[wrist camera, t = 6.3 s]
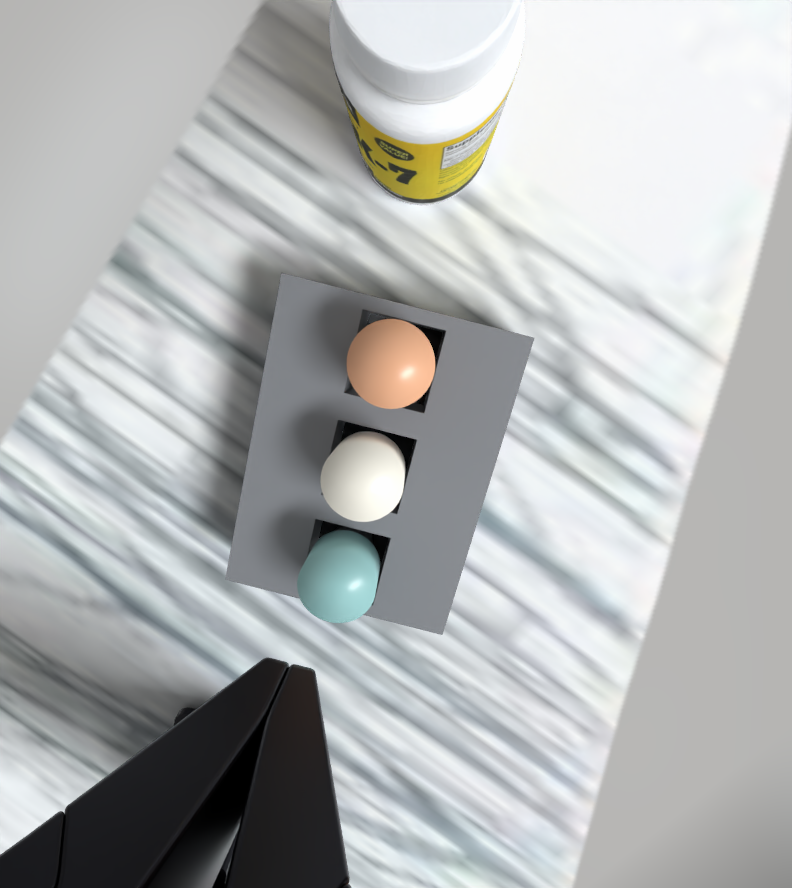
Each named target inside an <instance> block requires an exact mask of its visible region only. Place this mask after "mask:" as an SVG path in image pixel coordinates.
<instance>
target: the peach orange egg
mask: <svg viewBox="0 0 792 888" xmlns="http://www.w3.org/2000/svg"><path fill="white" fill-rule="evenodd" d="M434 372H435V356H434V351H433V348H432V346H431V344H430V342H429V340H428V339H427V337H426V336H425V335H424V333H423V332H422V331H421V330H419V329H418V328H417V327H415V326H414V325H412V324H410V323H408V322H406V321H403V320H398V319H383V320H379V321H376V322H373V323H371V324H369V325H367V326H366V327H365V328H363V329H362V330H361V331H360V332H359V333H358V334H357V335H356V337H355V338H354V340H353V341H352V343H351V345H350V348H349V351H348V355H347V373H348V377H349V380H350V382H351V384H352V386H353V388H354V389H355V391H356V392H357V393H358V394H359V395H360V397H362V398H363V399H364V400H365V401H367V402H368V403H370V404H372V405H374V406H377V407H380V408H385V409H397V408H402V407H405V406H408V405H410V404H412V403H414V402H415V401H417V400H418V399H419V398H421V397H422V396H423V395H424V393H425V392H426V391H427V389H428V388H429V386H430V384H431V382H432V380H433V377H434Z"/></svg>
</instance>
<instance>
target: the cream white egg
mask: <svg viewBox="0 0 792 888" xmlns="http://www.w3.org/2000/svg"><path fill="white" fill-rule="evenodd" d="M405 469H406V467H405V460H404V457H403V454H402V452H401V450H400V449H399V447H398V446H397V445H396V444H395V443H394V442H393V441H392V440H391V439H390V438H388V437H387V436H385V435H382V434H380V433H377V432H371V431H364V432H358V433H354V434H352V435H350V436H348V437H346V438H345V439H344V440H343V441H341V442H340V443H339V445H338V446H337V447H336V448H335V450H334V451H333V452H332V453H331V454H330V456H329V457H328V458H327V460H326V461H325V463H324V466H323V468H322V471H321V480H320V483H321V489H322V493H323V496H324V498H325V500H326V501H327V503H328V504H329V506H330V507H331V508H332V509H333V510H334V511H335V512H336V513H338V514H339V515H341V516H342V517H344V518H347V519H349V520H352V521H357V522H369V521H374V520H378V519H380V518H382V517H384V516H386V515H387V514H389V513H390V512H391V511H392V510H393V509H394V508H395V507H396V505H397V504H398V503H399V501H400V499H401V496H402V493H403V488H404V480H405Z"/></svg>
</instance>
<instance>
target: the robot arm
mask: <svg viewBox="0 0 792 888" xmlns="http://www.w3.org/2000/svg"><path fill="white" fill-rule="evenodd" d="M348 883H349V872H348V866H347V860H346V854H345V848H344V842H343V836H342V830H341V824H340V818H339V812H338V806H337V800H336V794H335V788H334V782H333V776H332V770H331V764H330V758H329V752H328V746H327V740H326V734H325V728H324V722H323V716H322V710H321V704H320V698H319V692H318V686H317V680H316V674H315V671H314V670H313V669H311V668H307V667H303V666H299V665H295V664H293V665H291V666H290V667H289V664H288V663H287V662H284V661H280V660H276V659H272V658H265V659H263V660H261V661H260V662H259V663H257V664H256V665H255V666H253V667H252V668H251V669H249V670H248V671H247V672H245V673H244V674H243V675H241V676H240V677H239V678H237V679H236V680H235V681H233V682H232V683H231V684H229V685H228V686H227V687H225V688H224V689H223V690H221V691H220V692H219V693H217V694H216V695H215V696H213V697H212V698H211V699H209V700H208V701H207V702H205V703H204V704H203V705H201V706H200V707H199V708H197V709H192V708H184V709H182V710H181V711H180V712H179V714H178V715H177V717H176V719H175V722H174V726H173V727H172V728H171V729H169V730H168V731H167V732H165V733H164V734H163V735H161V736H160V737H159V738H157V739H156V740H155V741H153V742H152V743H151V744H149V745H148V746H147V747H145V748H144V749H143V750H141V751H140V752H139V753H137V754H136V755H135V756H133V757H132V758H131V759H129V760H128V761H127V762H125V763H124V764H123V765H121V766H120V767H119V768H117V769H116V770H115V771H113V772H112V773H110V774H109V775H108V776H106V777H105V778H104V779H102V780H101V781H100V782H98V783H97V784H96V785H94V786H93V787H92V788H90V789H89V790H88V791H86V792H85V793H84V794H82V795H81V796H80V797H78V798H77V799H76V800H74V801H73V802H72V803H70V804H69V805H68V806H67V807H66V809H65V814H64V812H62V811H60V812H58V813H57V814H55V815H54V816H53V817H51V818H50V819H49V820H47V821H46V822H45V823H43V824H42V825H41V826H39V827H38V828H37V829H35V830H34V831H33V832H31V833H30V834H29V835H27V836H26V837H25V838H23V839H22V840H20V841H19V842H18V843H16V844H15V845H13V846H12V847H11V848H9V849H8V850H6V851H5V852H4V853H2V854H1V855H0V888H351V886H350V885H349V884H348Z"/></svg>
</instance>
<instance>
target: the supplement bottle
mask: <svg viewBox="0 0 792 888" xmlns="http://www.w3.org/2000/svg"><path fill="white" fill-rule="evenodd" d="M329 32H330V45H331V52H332V58H333V64H334V68H335V72H336V76H337V79H338V82H339V85H340V88H341V92H342V94H343V97H344V100H345V103H346V106H347V110H348V114H349V118H350V120H351V123H352V126H353V129H354V133H355V136H356V139H357V142H358V146H359V150H360V153H361V155H362V158H363V161H364V163H365V166H366V168H367V170H368V172H369V173H370V175H371V176H372V178H373V179H374V180H375V182H376V183H377V184H378V185H379V186H380V187H381V188H382V189H383V190H384V191H386V192H387V193H388V194H390V195H391V196H393V197H394V198H396V199H398V200H400V201H403V202H405V203H409V204H413V205H432V204H437V203H440V202H443V201H446V200H448V199H450V198H452V197H454V196H455V195H457V194H458V193H460V192H461V191H462V190H463V189H464V188H465V187H466V186H467V185H469V183H470V182H471V181H472V180H473V179H474V177H475V176H476V174H477V173H478V171H479V169H480V168H481V166H482V164H483V162H484V159H485V157H486V154H487V151H488V149H489V146H490V143H491V141H492V138H493V135H494V132H495V130H496V127H497V124H498V122H499V119H500V116H501V114H502V111H503V108H504V105H505V102H506V100H507V97H508V94H509V92H510V89H511V86H512V83H513V81H514V78H515V75H516V72H517V70H518V66H519V63H520V59H521V55H522V49H523V43H524V35H525V8H524V0H332V3H331V10H330V23H329Z"/></svg>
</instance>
